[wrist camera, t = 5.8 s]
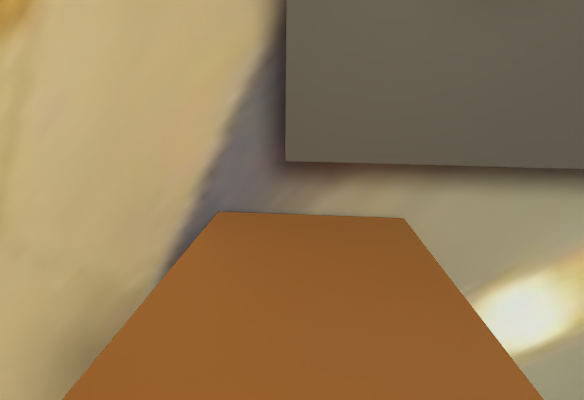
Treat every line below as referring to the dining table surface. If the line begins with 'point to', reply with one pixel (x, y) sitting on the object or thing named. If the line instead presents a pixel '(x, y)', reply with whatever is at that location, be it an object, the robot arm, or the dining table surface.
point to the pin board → (436, 82)
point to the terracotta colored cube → (304, 321)
